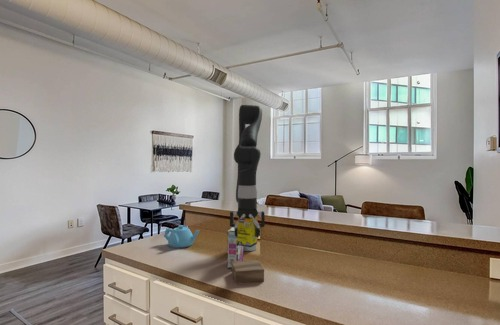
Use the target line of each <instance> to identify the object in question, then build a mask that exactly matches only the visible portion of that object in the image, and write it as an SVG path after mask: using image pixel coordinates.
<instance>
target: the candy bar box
mask: <svg viewBox="0 0 500 325" xmlns="http://www.w3.org/2000/svg"><path fill="white" fill-rule="evenodd" d="M226 248H227V252H226V254H227V257H226V258H227V259H226V262H227V263H226V264H227V265H226V268H227V269H232V262H236V261H244V251H243V246H239V245H238V238H236V236H235V228H234V227H230V228H229V229H228V230H227V247H226Z"/></svg>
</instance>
